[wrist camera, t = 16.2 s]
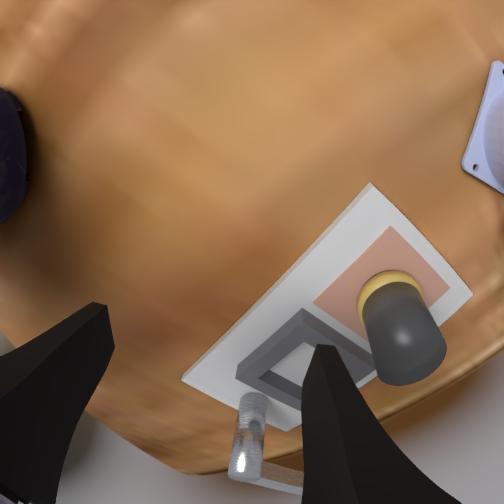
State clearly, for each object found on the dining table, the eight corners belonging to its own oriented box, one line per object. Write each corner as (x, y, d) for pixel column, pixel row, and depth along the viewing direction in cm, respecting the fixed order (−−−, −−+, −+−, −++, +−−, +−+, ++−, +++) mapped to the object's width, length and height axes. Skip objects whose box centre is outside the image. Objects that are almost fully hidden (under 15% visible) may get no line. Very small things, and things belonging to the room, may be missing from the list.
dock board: (369, 181, 17) (380, 193, 15) (469, 288, 20) (482, 306, 18) (183, 373, 26) (176, 393, 24) (286, 425, 29) (286, 444, 27)
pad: (390, 224, 18) (391, 226, 17) (449, 286, 19) (450, 288, 19) (312, 301, 21) (312, 303, 20) (378, 347, 22) (379, 349, 22)
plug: (426, 272, 19) (463, 331, 13) (403, 324, 21) (426, 388, 15) (367, 261, 19) (392, 325, 13) (346, 318, 21) (360, 386, 15)
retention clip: (234, 402, 26) (221, 476, 19) (249, 389, 25) (238, 468, 18) (342, 442, 28) (346, 503, 22) (359, 432, 27) (366, 496, 20)
